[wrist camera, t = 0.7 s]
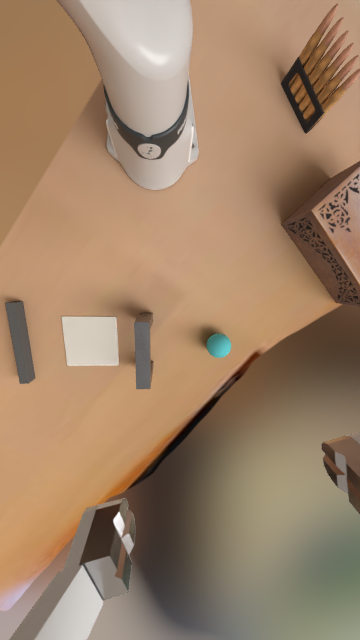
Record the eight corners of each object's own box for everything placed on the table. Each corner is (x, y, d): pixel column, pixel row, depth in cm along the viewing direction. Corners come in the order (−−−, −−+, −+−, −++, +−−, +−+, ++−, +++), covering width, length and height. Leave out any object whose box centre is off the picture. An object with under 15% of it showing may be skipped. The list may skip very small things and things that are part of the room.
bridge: (142, 368, 51) (136, 389, 41) (140, 313, 48) (134, 322, 38) (153, 368, 51) (150, 388, 42) (152, 313, 48) (149, 322, 38)
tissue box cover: (380, 264, 49) (433, 261, 40) (335, 302, 51) (374, 308, 41) (329, 179, 44) (375, 151, 34) (280, 224, 45) (311, 210, 36)
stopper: (13, 301, 45) (5, 302, 42) (22, 301, 45) (14, 303, 43) (27, 378, 49) (19, 383, 47) (35, 378, 50) (28, 383, 47)
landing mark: (61, 316, 46) (61, 316, 46) (116, 316, 47) (116, 316, 47) (67, 365, 49) (67, 365, 49) (119, 364, 50) (118, 365, 50)
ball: (205, 330, 50) (210, 337, 44) (227, 330, 50) (235, 337, 44) (203, 352, 51) (208, 361, 45) (225, 351, 51) (233, 361, 46)
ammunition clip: (312, 128, 41) (370, 69, 29) (305, 134, 41) (360, 78, 30) (288, 77, 39) (340, -9, 27) (280, 83, 39) (329, 1, 27)
